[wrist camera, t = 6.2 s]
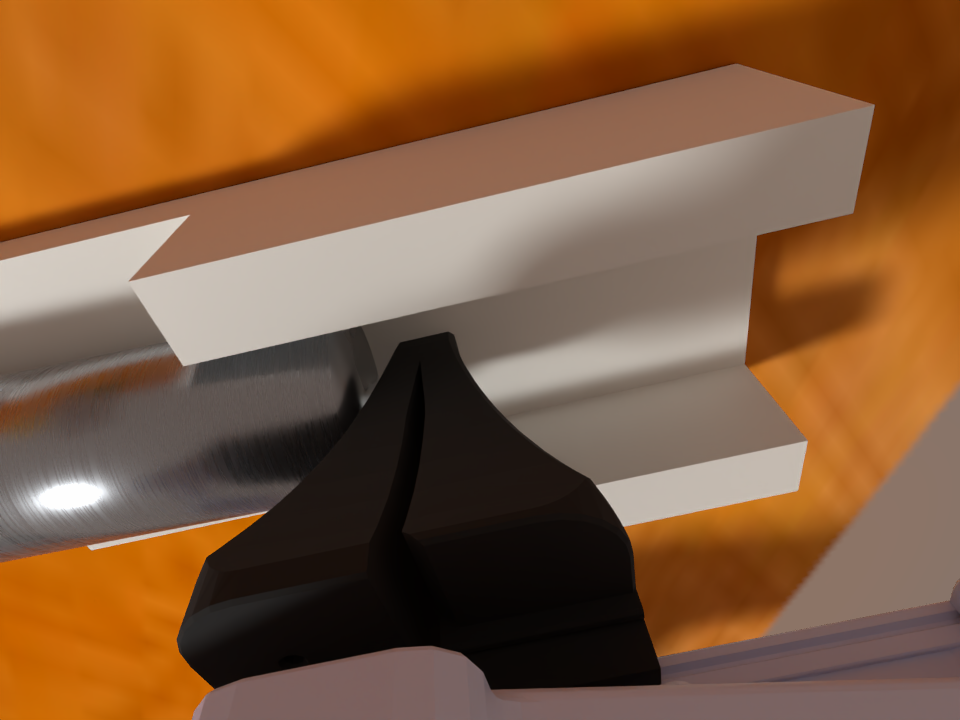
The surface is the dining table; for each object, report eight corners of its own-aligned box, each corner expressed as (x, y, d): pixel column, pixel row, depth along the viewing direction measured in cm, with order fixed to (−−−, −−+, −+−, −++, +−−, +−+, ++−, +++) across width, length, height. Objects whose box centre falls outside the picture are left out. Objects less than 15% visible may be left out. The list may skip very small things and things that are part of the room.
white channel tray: (717, 380, 17) (797, 490, 14) (113, 511, 18) (36, 647, 15) (736, 63, 12) (875, 104, 8) (-112, 270, 13) (-321, 387, 9)
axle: (355, 291, 13) (312, 332, 10) (395, 438, 14) (371, 529, 11) (-41, 371, 14) (-236, 443, 10) (30, 510, 15) (-119, 622, 11)
